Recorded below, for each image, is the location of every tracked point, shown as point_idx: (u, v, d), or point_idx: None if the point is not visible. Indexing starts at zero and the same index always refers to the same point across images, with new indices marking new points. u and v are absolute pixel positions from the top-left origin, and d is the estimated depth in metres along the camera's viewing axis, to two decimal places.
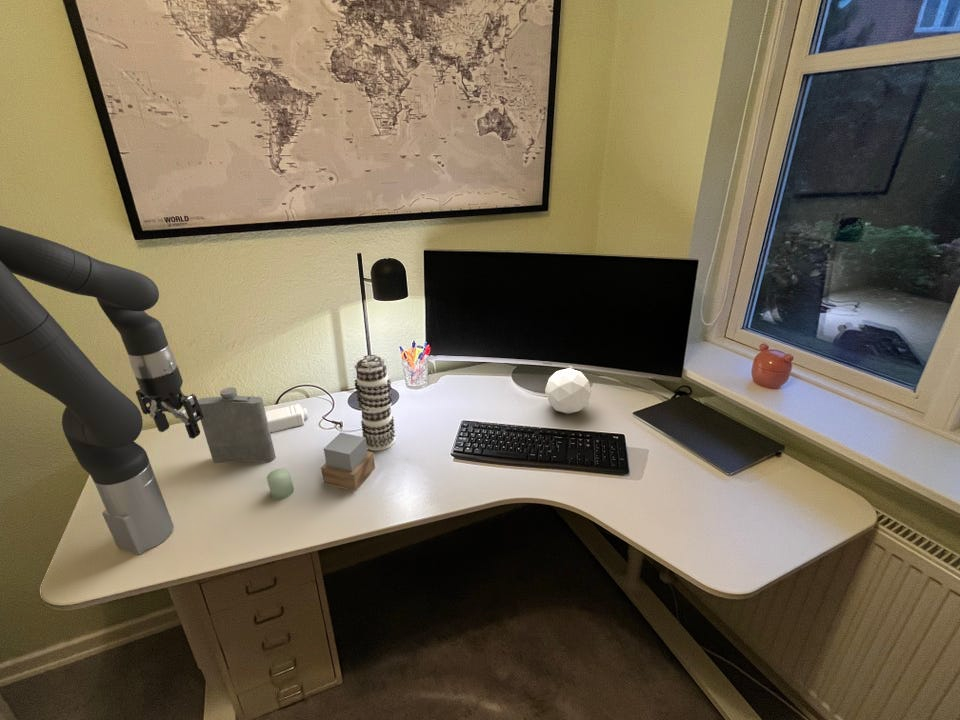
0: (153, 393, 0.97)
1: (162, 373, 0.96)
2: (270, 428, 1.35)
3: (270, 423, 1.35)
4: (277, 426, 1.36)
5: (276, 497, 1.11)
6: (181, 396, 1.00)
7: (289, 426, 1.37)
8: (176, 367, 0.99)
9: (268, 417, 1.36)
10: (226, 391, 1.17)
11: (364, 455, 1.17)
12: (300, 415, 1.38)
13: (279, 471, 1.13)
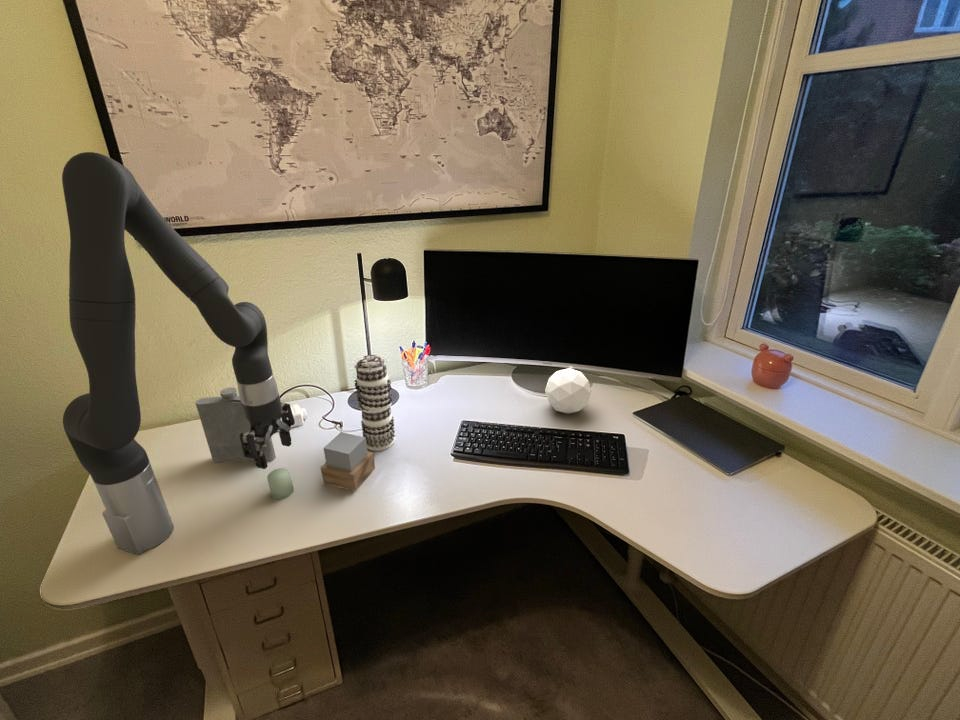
0: (281, 408, 1.05)
1: None
2: None
3: None
4: None
5: (276, 497, 1.11)
6: None
7: None
8: None
9: None
10: (226, 391, 1.17)
11: (364, 455, 1.17)
12: (300, 415, 1.38)
13: (279, 471, 1.13)
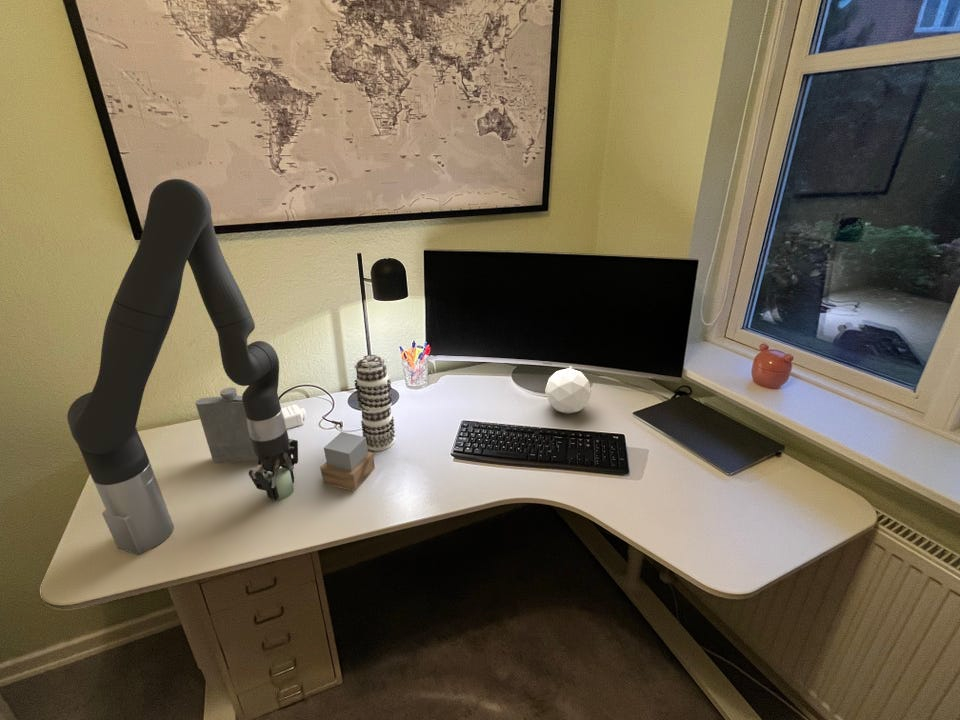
0: (288, 442, 1.08)
1: None
2: None
3: None
4: None
5: None
6: None
7: (289, 426, 1.37)
8: None
9: None
10: (226, 391, 1.17)
11: (364, 455, 1.17)
12: (299, 415, 1.38)
13: (279, 471, 1.13)
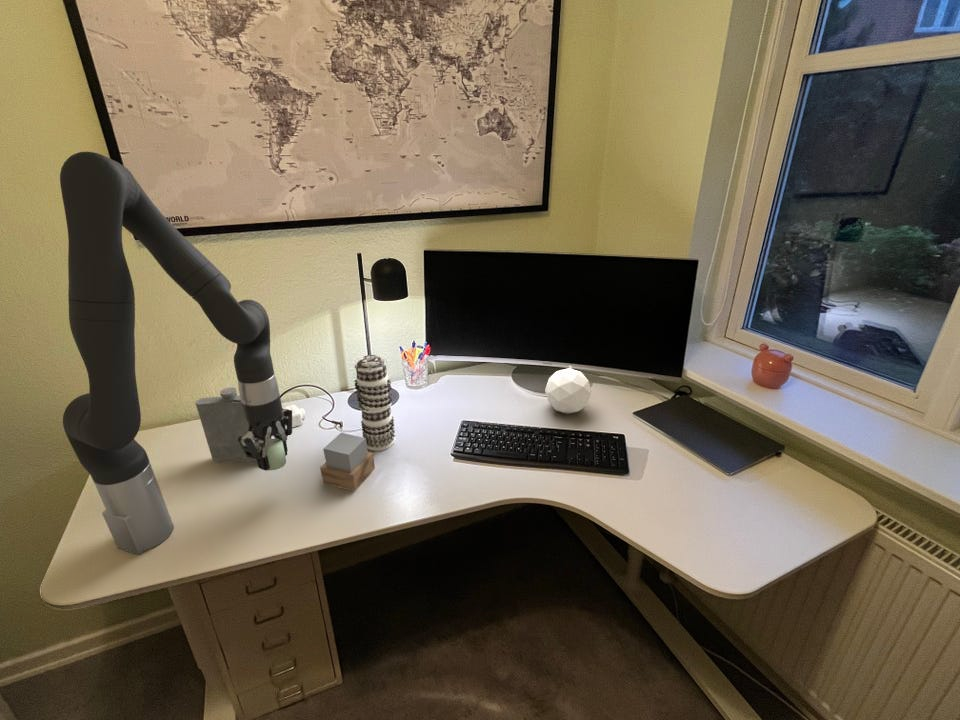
0: (281, 409, 1.03)
1: None
2: None
3: None
4: None
5: None
6: None
7: None
8: None
9: None
10: (226, 391, 1.17)
11: (364, 455, 1.17)
12: (299, 415, 1.38)
13: (271, 441, 1.08)
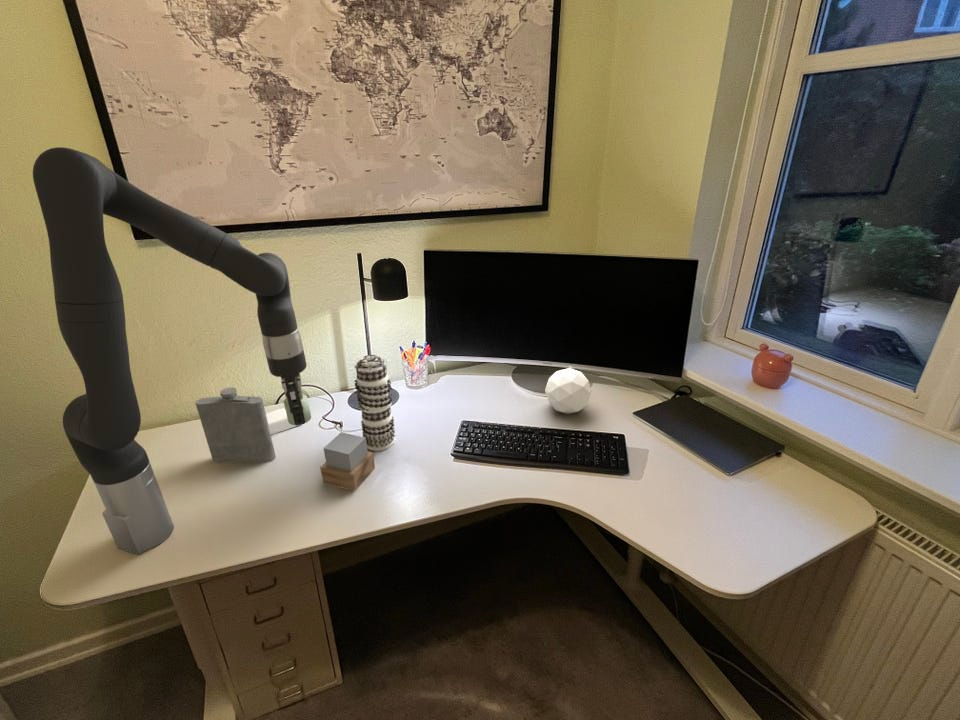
0: None
1: None
2: (270, 430, 1.34)
3: (270, 426, 1.34)
4: (277, 428, 1.35)
5: None
6: None
7: (288, 427, 1.37)
8: None
9: None
10: (226, 391, 1.17)
11: (364, 455, 1.17)
12: None
13: None
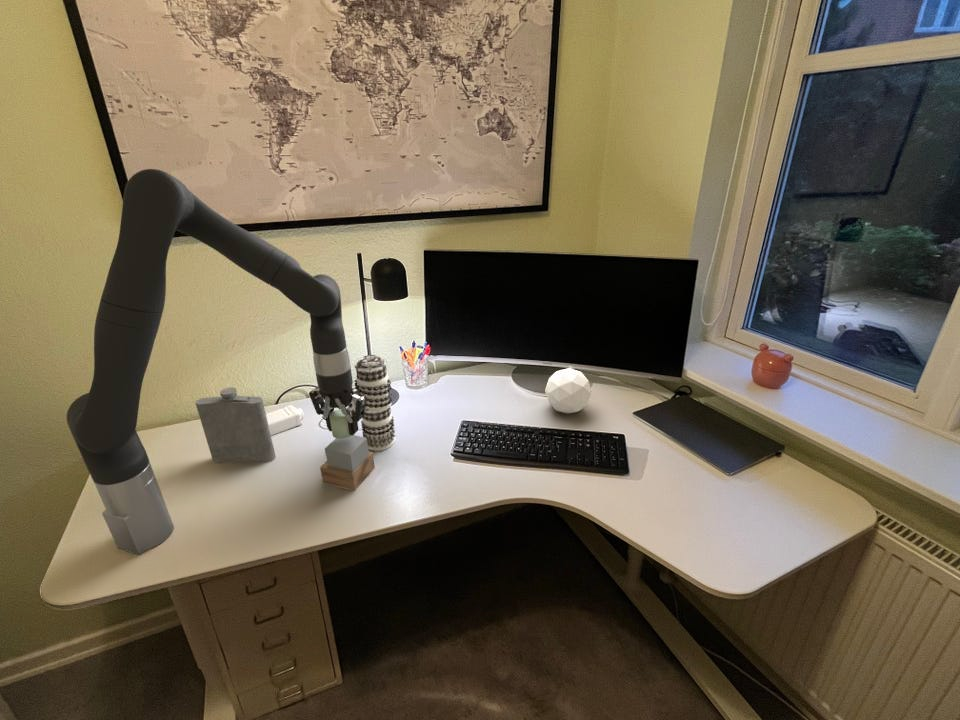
0: None
1: None
2: (270, 431, 1.34)
3: (270, 426, 1.33)
4: (277, 429, 1.35)
5: None
6: None
7: (288, 427, 1.37)
8: None
9: None
10: (226, 391, 1.17)
11: (365, 455, 1.17)
12: (298, 415, 1.38)
13: (334, 415, 1.11)
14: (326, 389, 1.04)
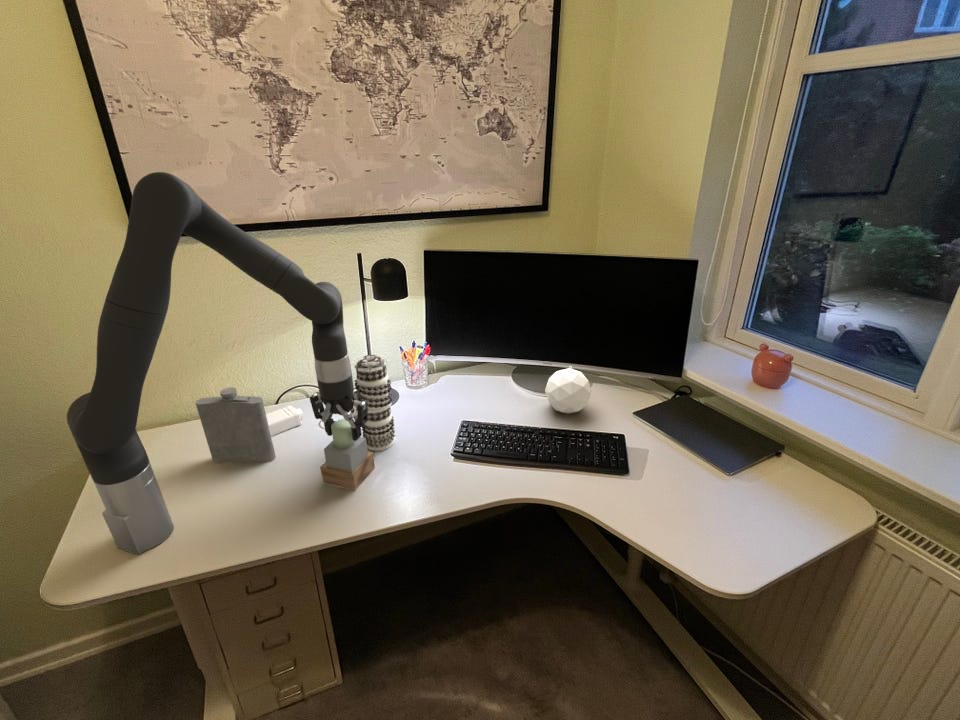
0: None
1: None
2: (270, 432, 1.33)
3: (270, 427, 1.33)
4: (277, 429, 1.35)
5: (354, 441, 1.14)
6: None
7: (288, 427, 1.37)
8: None
9: None
10: (226, 391, 1.17)
11: (364, 456, 1.17)
12: (298, 415, 1.38)
13: (336, 425, 1.12)
14: (327, 395, 1.05)
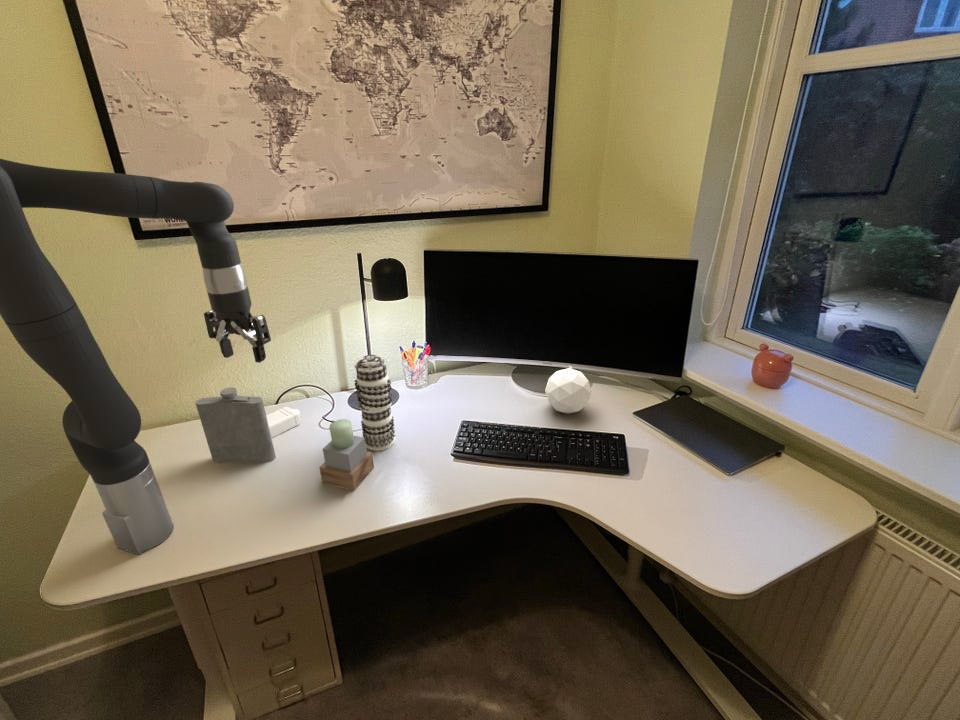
0: None
1: None
2: (271, 433, 1.33)
3: (271, 428, 1.32)
4: (278, 430, 1.34)
5: (353, 441, 1.14)
6: None
7: (288, 428, 1.37)
8: None
9: None
10: (226, 391, 1.17)
11: (363, 455, 1.17)
12: (297, 415, 1.38)
13: (334, 425, 1.12)
14: (218, 309, 0.96)
